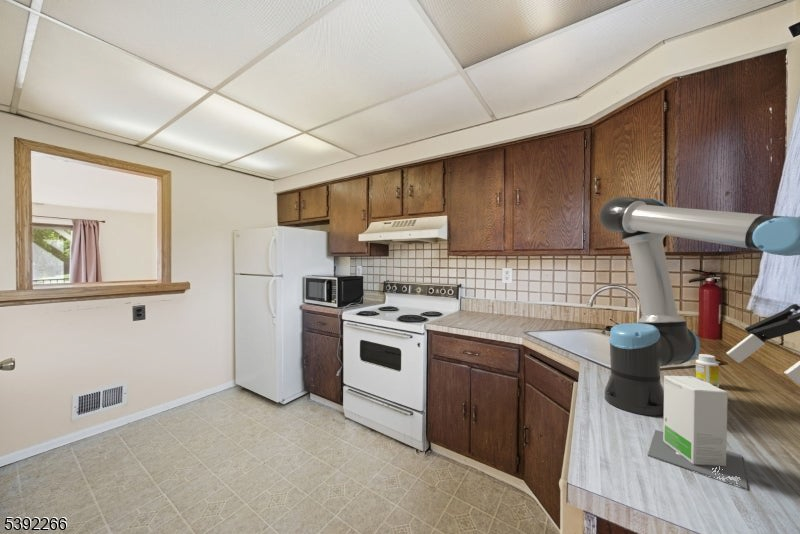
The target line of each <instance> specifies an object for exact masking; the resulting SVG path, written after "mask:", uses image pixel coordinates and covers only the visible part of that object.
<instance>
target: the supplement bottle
mask: <svg viewBox="0 0 800 534" xmlns="http://www.w3.org/2000/svg"><path fill="white" fill-rule="evenodd" d="M719 365H720V364H719V362H717V361H716V356H714V355H711V354H707V353H698V359H696V360H695V378H697V379H699V380H702V381H704V382H707V383H710V384H712V385H713V386H715V387H717V388H719V387H720V366H719Z"/></svg>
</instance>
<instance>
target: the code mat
mask: <svg viewBox="0 0 800 534" xmlns="http://www.w3.org/2000/svg"><path fill="white" fill-rule="evenodd" d="M647 457H650V458H652V459H656V460H659V461H661V462H665V463H668V464H671V465H673V466H676V467H679V468H682V469H684V468H686V469H685V470H687V469H690V470H693V471H695V472H694V473H696V472H698V473H697V474H699V473H701V474H700V475H702V474H704V475H703V476H705V475H707V476H706V477H708V476H711V477H715V478H717V477H719V476H720V478H722V477H723V476H724V478H726V477H728V476H730V477H732V476H733V477H735V476H737V477H740V479H741V480H739V479H738V480H739V481H737V483H738V484H736V481H734V480H730V479H729V478H727V479H728V480H727V479H725V481H726V482H728V483H732V484H735V485H738V486H740V487H742V488H744V489H743V490H745V489H747V490H746V491H748V490H749V489H748V486H747V485H748V483H747V478H746V473H745V467H744V462H743V457H742V454H741V453H736V452H734V451H729V450H727V449H726V466H720V470H719V466H711V465H694V464H692V463H691V462H689V461H688V460H687V459H686V458H684V457H683V456H682V455H680V454H679V453H678V452H676V451H675V450H674V449H672V448H671V447H670V446H669V445H667V444H666V443H664V441H663V430H658V429H655V431H654V434H653V436H652V439H651V442H650V446H649V450H648V452H647ZM716 467H717V469H716V472H713V471H714V470H715V468H716ZM712 468H714V469H713V470H712ZM722 469H723V470H722ZM690 470H689V471H690ZM718 470H719V472H718V473H717V471H718ZM693 471H692V472H693ZM712 472H713V473H712ZM715 473H716V475H715ZM719 473H720V474H719ZM718 474H719V475H718ZM722 474H723V475H722ZM711 477H710V478H711ZM718 479H719V478H718ZM721 480H722V479H721ZM728 483H727V484H728ZM740 487H739V488H740ZM742 488H741V489H742Z"/></svg>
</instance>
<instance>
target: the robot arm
mask: <svg viewBox="0 0 800 534" xmlns="http://www.w3.org/2000/svg"><path fill="white" fill-rule="evenodd" d="M598 218H599V222H600V224H601V225H602V227H603V228H605V230H608V231H610V232H613V233H620V234H621V239H622V242H623V243H625V244H626V245H628V246H629V251H630V257H631V262H632V268H633V272H634V278H635V279H634V280H635V283H636V284H635V285H636V289H637V295H638V298H639V299H638V300H639V305H640V311H641V317H640V318H639V319H638V320H637V322H632V323H628V322H627V323H626V322H625V323H619V324H616V325H614V326H612V327H611V328H610V332H609V333H610V334H609V338H608V339H609V345H610V346H609V349H610V351H609V352H610V353H609V354H610V355H609V356H610V376H609V377H608V380H607V383H606V385H605V387H604V390H603V391H604V399H605V401H606V402H608V404H610V405H612V406H614V407H616V408H618V409H620V410H624V411H627V412H630V413H633V414H634V413H635V414H637V415H638V414H640V415H644V416H654V417H657V416H664V386H662V383H661V367H666V366H674V365H675V366H676V365H683V364H685V363H688V362H690V361H693V360H694V359H695V358H696V357H697V356H699V354H700V353H699V352H700V351H701V350H700V349H701V344H700V343H701V342H700V339H699V337H698V335H696V333H695V332H694V331H692V330H691V329H690V328H689V327H688V324H687V321H686V319H685V318H683V317H682V316H680V315H679V314H678V311H677V310H678V308H677V304H676V300H675V295H674V290H673V286H672V282H671V281H672V280H671V276H670V272H669V271H670V270H669V267H668V263H667V257H666V252H665V247H664V244H663V240H664V238H665V237H666V236H669V237H677V238H683V239H688V240H694V241H695V240H696V241H701V242H708V243H713V244H719V245H727V246H732V247H738V248H743V249H745V248H746V249H750V250H754V251H761V252H764V253H767V254H772V255H775V256H776V255H777V256H783V257H784V256H786V257H791V256H800V215H798V216H790V215H789V216H788V215H787V216H784V215H783V216H782V215H770V214H769V215H768V214H767V215H766V214H759V213H748V212H746V213H745V212H737V211H723V210H722V211H721V210H712V209H711V210H710V209H702V208H701V209H699V208H685V207H676V206H668V205H667V204H666V203H665V202H663V201H662V200H657V199H654V198H649V197H643V198H641V197H633V196H632V197H630V196H617V197H614V198H612V199H609V201H608V200H607V202H605V204H604V205H603V206H602V207H601V209H600V211H599V217H598ZM744 331H745V332H747V333H748V335H747V336H746V337H744V338H743V339H742V340H741V341H739V342H738V343H736V345H734V346H733V347H731V349H729V350H728V351H726V355H727V356H729V357H730V358H731V359H732V360H733V361H735V362H736V363H738V364H741V363H742V362H743V361H744V360H746V359H748V357H750V356H751V355H752V354H754V353H755V352H756V351H758V350H759V349H760V348H762V347H763V346H764V345H766V341H768V340H772V339H775V338H779V337H782V336H786V335H788V334H793V333H795V332H800V305H798V304H797V303H795V304H791V305H789V306H788V307H786V308H785V309H784V310H781V311H780V312H777V313H775V314H772V315H771V316H769V317H767V318H764V319H761V320H759V321H758V322H755V323H753V324H751V325H749V326H747V327H744ZM783 374H785V375H786V376H788V378H790V379H791V380H792V381H794V382H795V383H796V384H797V385H800V360H799V361H797V362H796V363H795V364H793V365H791V367H789V368H788V369H786V370H785V371H784V372H783Z"/></svg>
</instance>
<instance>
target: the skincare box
mask: <svg viewBox="0 0 800 534" xmlns="http://www.w3.org/2000/svg"><path fill="white" fill-rule="evenodd" d="M663 377H664V378H663V390H664V415H663V428H662V432H663V441H664V443H666V444H667V445H669V446H670V447H671V448H672V449H674V450H675V451H676V452H678V453H679V454H680V455H682V456H683V457H684V458H686V459H687V460H688V461H689V462H691V463H692V464H694V465H711V466H726V450H727V441H728V440H727V438H728V436H727V435H728V433H727V432H728V431H727V428H728V393H729V392H728V391H727V390H724V389H721V388H719V387H715V386H713V385H712V384H710V383H707V382H704V381H702V380H699V379H697V378H696V376H691V375H689V376H688V375H687V376H686V375H663Z"/></svg>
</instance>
